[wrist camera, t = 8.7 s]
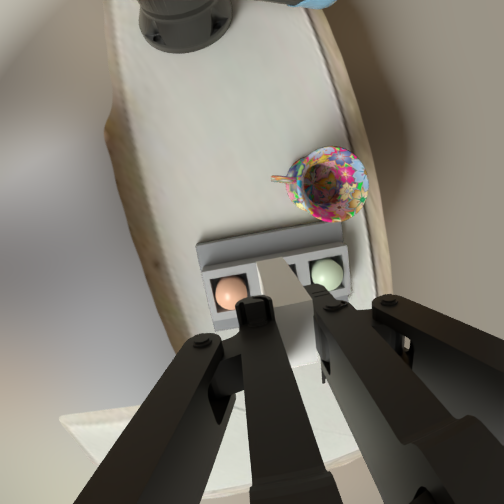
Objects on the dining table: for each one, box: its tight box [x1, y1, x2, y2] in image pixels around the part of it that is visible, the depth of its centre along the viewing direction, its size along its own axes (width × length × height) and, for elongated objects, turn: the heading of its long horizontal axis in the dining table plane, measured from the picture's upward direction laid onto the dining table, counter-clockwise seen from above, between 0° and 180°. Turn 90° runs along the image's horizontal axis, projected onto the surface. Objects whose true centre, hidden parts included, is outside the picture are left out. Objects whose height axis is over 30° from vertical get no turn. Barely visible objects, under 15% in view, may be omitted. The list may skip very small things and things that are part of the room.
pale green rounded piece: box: [309, 257, 343, 291], centre depth 44 cm, size 4×4×4 cm
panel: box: [195, 221, 351, 332], centre depth 45 cm, size 14×22×5 cm, turn 100°
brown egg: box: [216, 274, 247, 310], centre depth 44 cm, size 4×4×4 cm
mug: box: [271, 146, 369, 222], centre depth 40 cm, size 12×9×11 cm
